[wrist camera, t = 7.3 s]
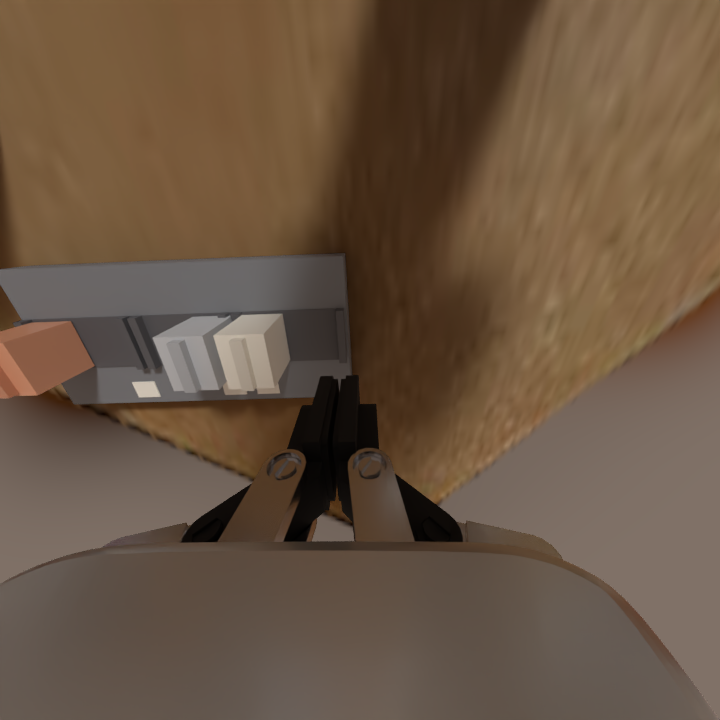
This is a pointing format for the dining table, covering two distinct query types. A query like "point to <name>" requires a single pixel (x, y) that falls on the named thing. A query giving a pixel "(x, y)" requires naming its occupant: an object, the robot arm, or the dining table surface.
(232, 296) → the switch unit
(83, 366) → the slider rust
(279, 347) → the slider ivory
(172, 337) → the slider grey
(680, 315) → the dining table surface
